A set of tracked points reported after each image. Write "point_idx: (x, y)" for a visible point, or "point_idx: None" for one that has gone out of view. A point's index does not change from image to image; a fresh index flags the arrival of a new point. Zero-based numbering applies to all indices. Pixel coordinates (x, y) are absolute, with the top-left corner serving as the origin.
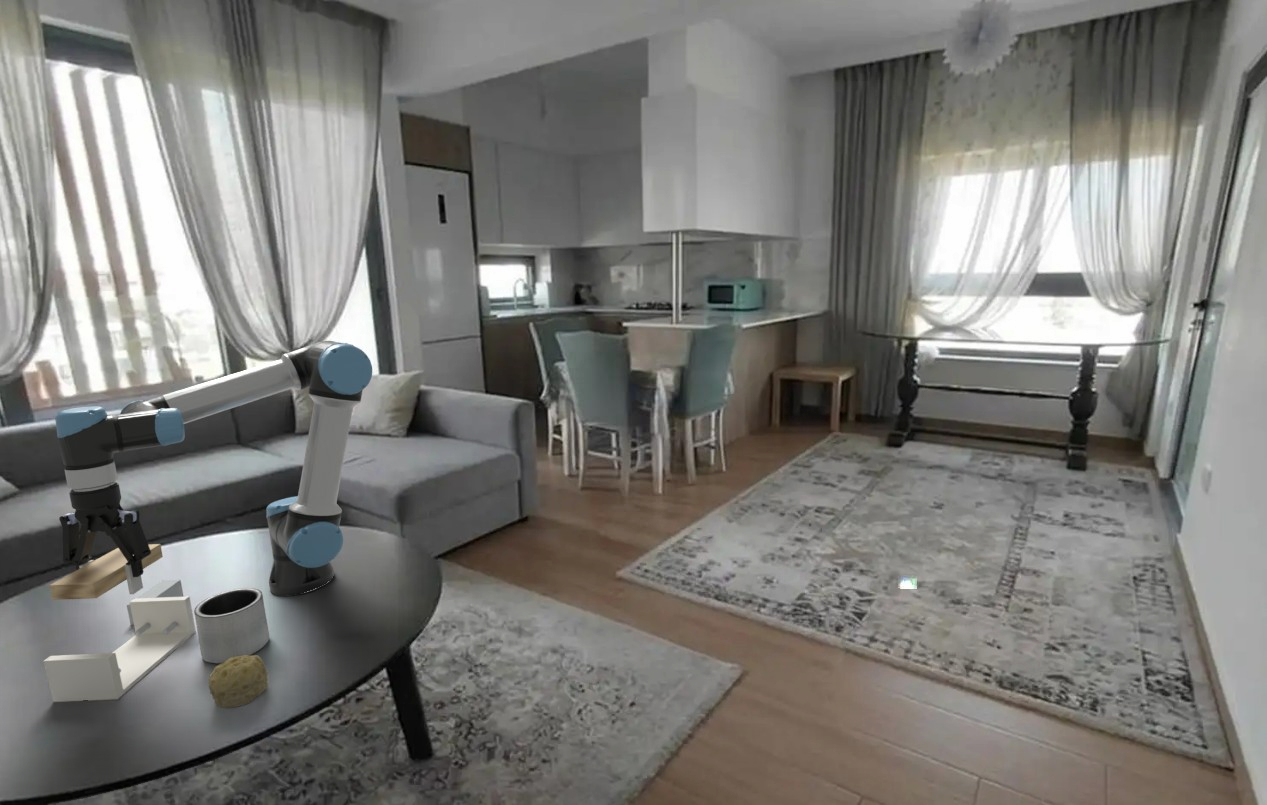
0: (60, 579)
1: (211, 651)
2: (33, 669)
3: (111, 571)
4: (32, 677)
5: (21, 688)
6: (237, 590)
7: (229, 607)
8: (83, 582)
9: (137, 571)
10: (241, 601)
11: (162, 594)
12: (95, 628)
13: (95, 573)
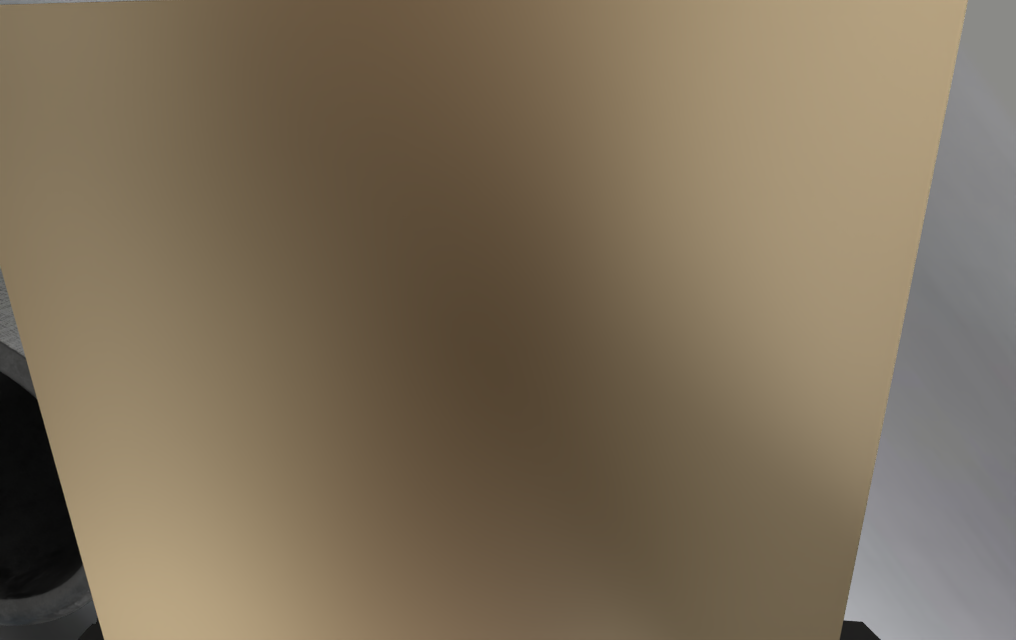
0: (895, 294)
1: None
2: (1009, 288)
3: (116, 528)
4: (966, 220)
5: (959, 130)
6: (20, 606)
7: None
8: (207, 87)
9: (91, 628)
10: (58, 554)
11: None
12: (923, 587)
13: (344, 490)
